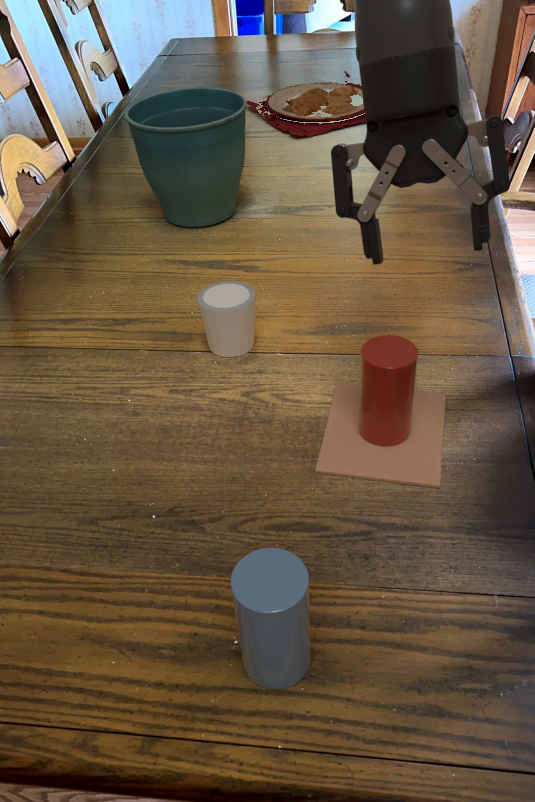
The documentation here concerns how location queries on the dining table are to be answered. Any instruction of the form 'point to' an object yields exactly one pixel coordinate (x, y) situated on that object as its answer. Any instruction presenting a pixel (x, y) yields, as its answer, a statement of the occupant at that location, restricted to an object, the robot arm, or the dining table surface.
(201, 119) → the flower pot
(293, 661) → the grey upright cylinder
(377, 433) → the glossy red cylinder
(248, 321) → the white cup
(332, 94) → the plate with food
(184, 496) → the dining table surface
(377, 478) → the terracotta mat
